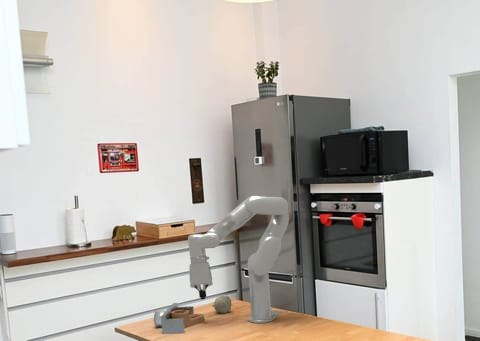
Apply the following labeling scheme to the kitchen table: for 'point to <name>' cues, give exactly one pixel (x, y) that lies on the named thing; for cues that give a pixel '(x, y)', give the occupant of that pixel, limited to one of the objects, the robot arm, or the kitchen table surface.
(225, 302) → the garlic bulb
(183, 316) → the bracket
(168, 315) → the steel u-channel
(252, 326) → the kitchen table surface
